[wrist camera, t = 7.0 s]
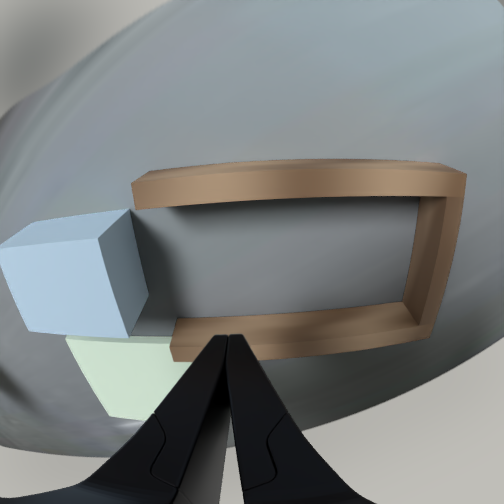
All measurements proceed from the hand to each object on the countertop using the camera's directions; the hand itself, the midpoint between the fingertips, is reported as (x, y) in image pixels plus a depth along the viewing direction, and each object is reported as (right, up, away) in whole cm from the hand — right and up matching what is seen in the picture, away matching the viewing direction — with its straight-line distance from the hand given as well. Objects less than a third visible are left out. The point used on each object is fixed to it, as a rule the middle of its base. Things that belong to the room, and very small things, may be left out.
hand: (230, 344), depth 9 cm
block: (-8, +2, +5) cm, 10 cm away
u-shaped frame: (+3, +3, +5) cm, 6 cm away
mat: (-6, -6, +9) cm, 12 cm away
